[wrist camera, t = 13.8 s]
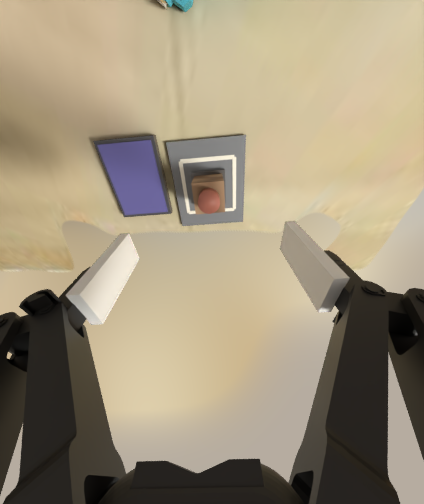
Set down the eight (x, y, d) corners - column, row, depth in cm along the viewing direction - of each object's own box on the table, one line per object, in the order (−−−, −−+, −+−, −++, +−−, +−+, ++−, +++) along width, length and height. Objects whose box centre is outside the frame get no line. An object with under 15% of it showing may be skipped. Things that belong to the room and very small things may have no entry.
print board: (182, 224, 34) (182, 226, 33) (166, 142, 26) (165, 142, 25) (242, 220, 33) (243, 221, 33) (245, 134, 25) (245, 134, 25)
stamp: (195, 204, 31) (191, 223, 24) (191, 171, 28) (185, 183, 21) (225, 201, 31) (229, 220, 24) (224, 168, 27) (228, 179, 21)
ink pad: (126, 214, 33) (123, 217, 31) (97, 140, 26) (92, 141, 24) (172, 211, 32) (170, 214, 31) (155, 135, 25) (152, 135, 24)
